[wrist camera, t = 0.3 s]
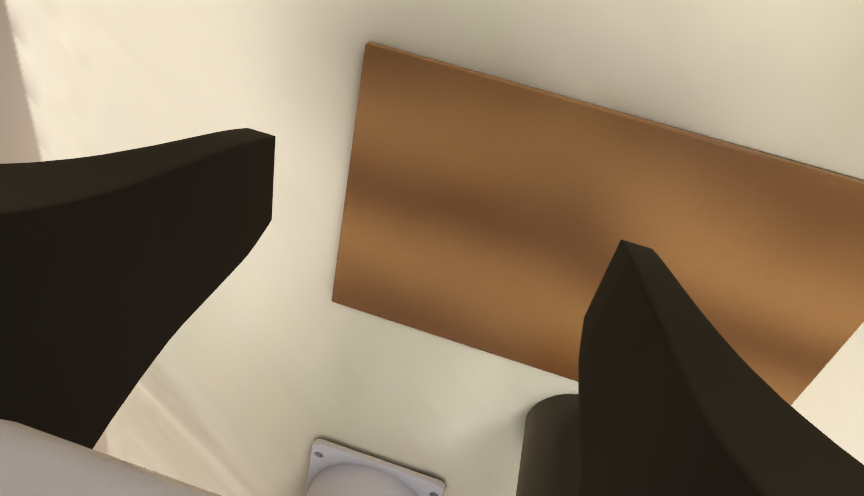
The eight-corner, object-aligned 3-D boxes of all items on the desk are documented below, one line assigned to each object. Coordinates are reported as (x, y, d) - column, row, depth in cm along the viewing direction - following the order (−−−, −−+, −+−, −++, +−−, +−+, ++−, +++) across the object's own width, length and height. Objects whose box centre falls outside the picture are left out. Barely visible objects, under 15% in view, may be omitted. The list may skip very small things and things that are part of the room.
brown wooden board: (758, 433, 25) (760, 441, 25) (334, 296, 27) (331, 301, 26) (953, 205, 18) (960, 211, 18) (369, 40, 20) (365, 43, 20)
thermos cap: (607, 477, 29) (610, 603, 24) (513, 445, 29) (496, 562, 24) (648, 415, 26) (661, 544, 21) (543, 380, 26) (531, 498, 21)
